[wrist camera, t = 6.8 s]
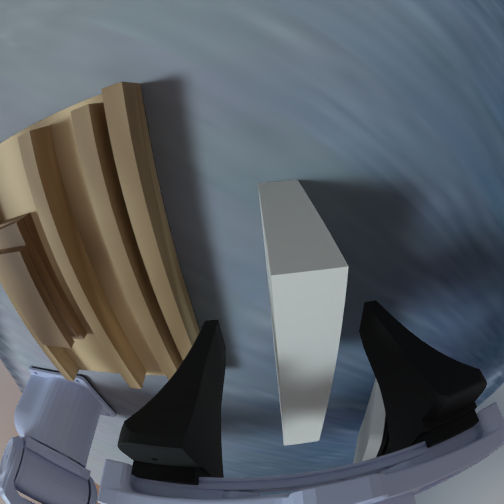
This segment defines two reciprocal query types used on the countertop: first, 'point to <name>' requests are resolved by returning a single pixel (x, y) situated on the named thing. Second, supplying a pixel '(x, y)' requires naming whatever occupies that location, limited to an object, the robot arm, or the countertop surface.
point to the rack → (102, 235)
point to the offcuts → (36, 284)
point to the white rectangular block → (302, 305)
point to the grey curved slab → (373, 430)
